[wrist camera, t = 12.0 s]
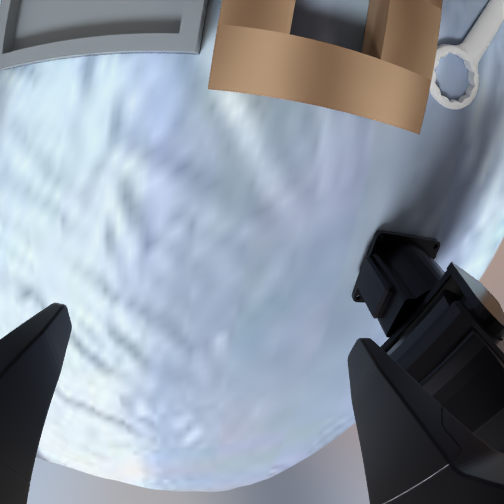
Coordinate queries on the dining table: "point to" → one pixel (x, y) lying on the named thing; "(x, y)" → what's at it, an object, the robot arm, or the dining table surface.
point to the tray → (97, 28)
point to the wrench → (470, 53)
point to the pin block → (331, 59)
